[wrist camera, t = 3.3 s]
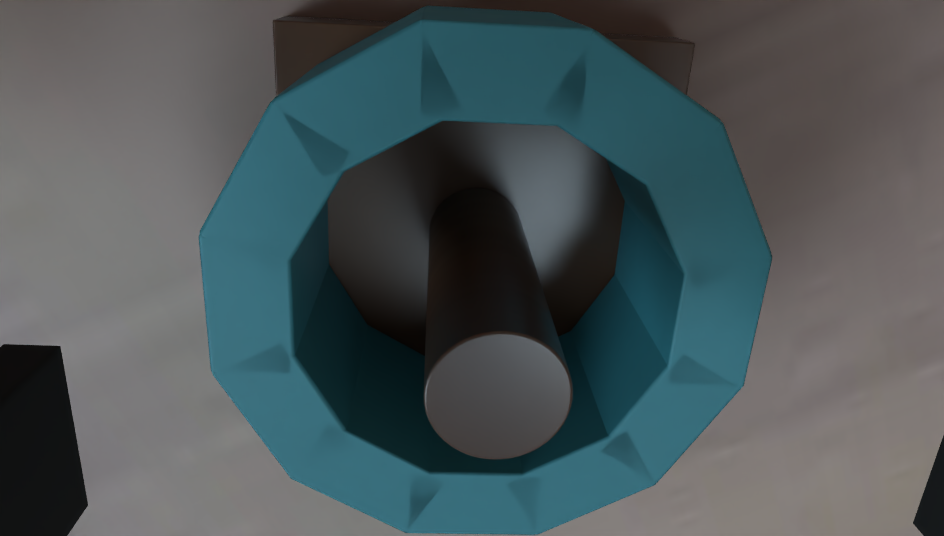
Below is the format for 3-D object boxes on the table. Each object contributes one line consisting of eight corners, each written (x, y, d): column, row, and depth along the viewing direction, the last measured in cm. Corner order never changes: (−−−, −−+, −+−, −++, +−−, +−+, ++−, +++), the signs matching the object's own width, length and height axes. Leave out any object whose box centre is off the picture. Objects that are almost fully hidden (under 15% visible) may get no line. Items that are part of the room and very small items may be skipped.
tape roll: (272, 407, 21) (224, 531, 16) (248, -5, 17) (175, 5, 12) (651, 416, 21) (709, 538, 17) (719, 21, 17) (822, 40, 13)
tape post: (298, 365, 22) (204, 628, 13) (285, 15, 18) (141, 58, 9) (625, 374, 23) (743, 631, 14) (677, 37, 19) (885, 95, 10)
